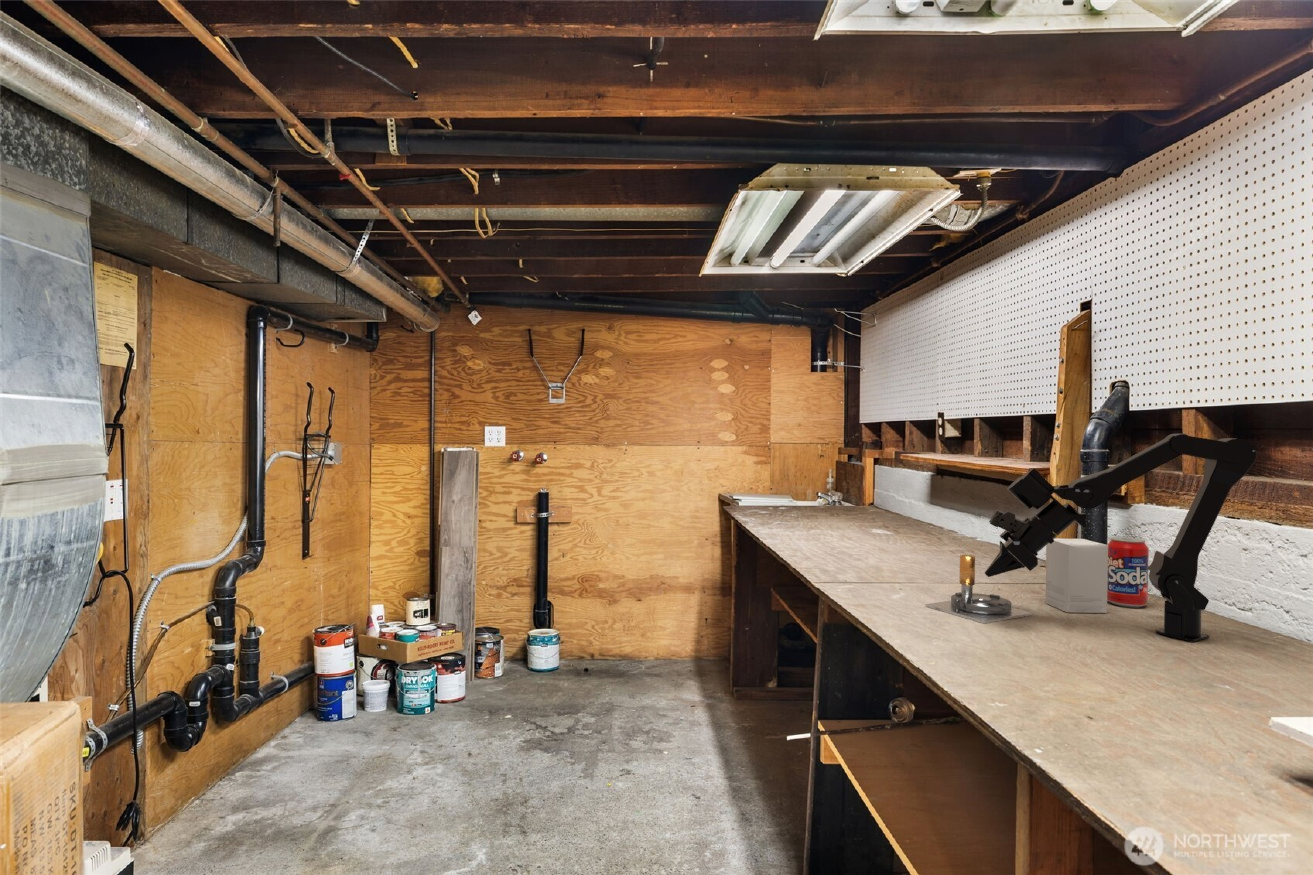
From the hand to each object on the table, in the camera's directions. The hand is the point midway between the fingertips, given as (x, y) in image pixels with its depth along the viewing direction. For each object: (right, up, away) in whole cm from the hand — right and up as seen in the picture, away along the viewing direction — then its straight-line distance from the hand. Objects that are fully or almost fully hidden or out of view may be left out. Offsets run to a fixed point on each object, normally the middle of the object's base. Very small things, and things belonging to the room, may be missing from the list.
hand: (986, 575), depth 148 cm
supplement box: (+23, -9, +7) cm, 26 cm away
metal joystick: (+1, -9, +5) cm, 10 cm away
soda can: (+37, -9, +11) cm, 40 cm away
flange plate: (0, -9, +4) cm, 10 cm away
